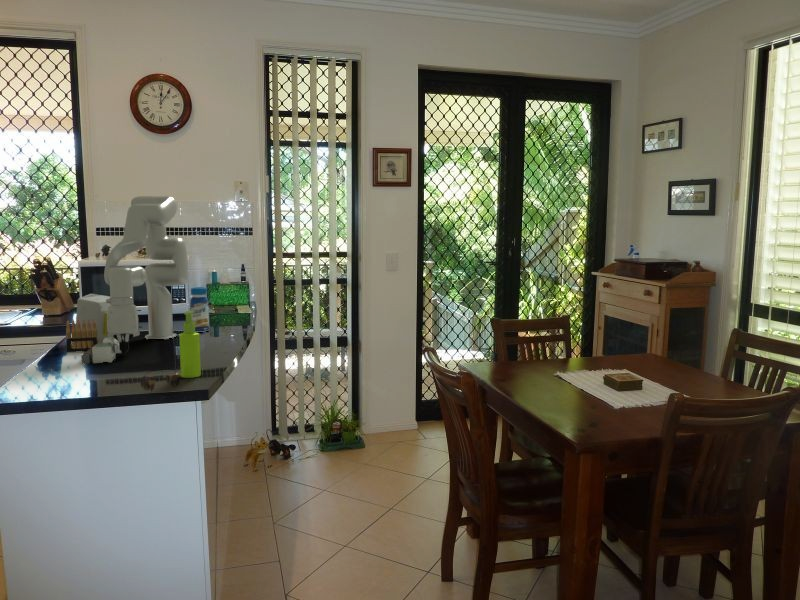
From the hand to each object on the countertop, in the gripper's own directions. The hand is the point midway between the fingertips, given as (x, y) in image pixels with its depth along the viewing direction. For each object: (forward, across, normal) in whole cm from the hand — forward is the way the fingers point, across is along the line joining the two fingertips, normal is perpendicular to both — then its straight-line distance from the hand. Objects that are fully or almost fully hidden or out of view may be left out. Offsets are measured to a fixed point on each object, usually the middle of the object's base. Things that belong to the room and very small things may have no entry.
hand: (124, 352), depth 224 cm
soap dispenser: (+2, +26, -39) cm, 47 cm away
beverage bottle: (+1, +23, +51) cm, 56 cm away
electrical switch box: (+1, -13, +32) cm, 35 cm away
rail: (+1, -7, 0) cm, 7 cm away
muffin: (+2, -5, 0) cm, 5 cm away
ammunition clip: (+2, -17, +14) cm, 22 cm away
